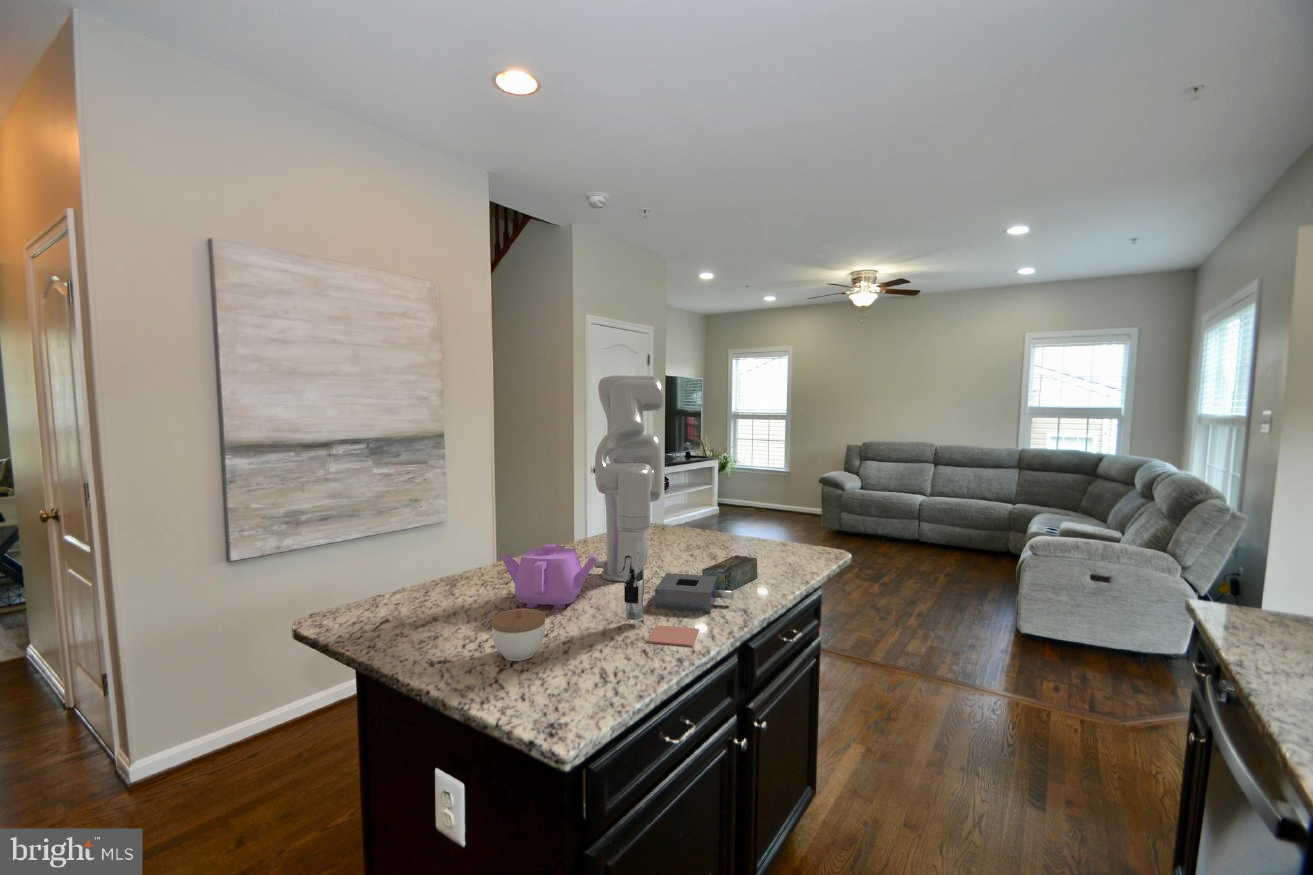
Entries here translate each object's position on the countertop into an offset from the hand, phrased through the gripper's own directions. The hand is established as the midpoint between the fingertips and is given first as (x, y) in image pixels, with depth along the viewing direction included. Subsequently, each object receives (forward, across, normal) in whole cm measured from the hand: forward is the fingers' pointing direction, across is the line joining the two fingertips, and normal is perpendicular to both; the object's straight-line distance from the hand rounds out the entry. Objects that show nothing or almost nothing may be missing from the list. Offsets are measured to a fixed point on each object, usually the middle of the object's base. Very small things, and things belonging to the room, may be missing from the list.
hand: (634, 598), depth 131 cm
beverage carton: (+7, -36, +19) cm, 41 cm away
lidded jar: (+6, +21, -19) cm, 29 cm away
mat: (+6, +5, +10) cm, 13 cm away
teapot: (+7, -10, -26) cm, 28 cm away
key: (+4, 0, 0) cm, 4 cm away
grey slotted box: (+7, -18, +12) cm, 23 cm away
